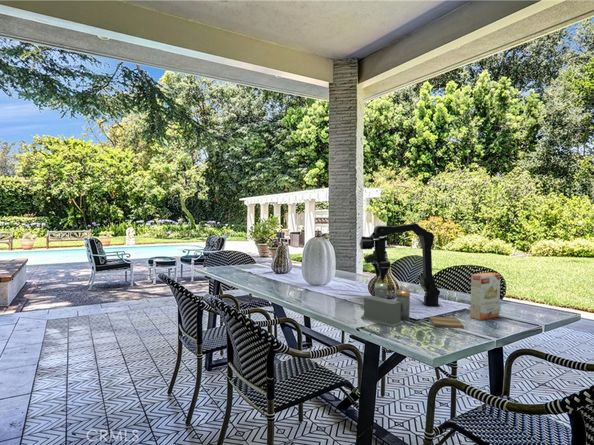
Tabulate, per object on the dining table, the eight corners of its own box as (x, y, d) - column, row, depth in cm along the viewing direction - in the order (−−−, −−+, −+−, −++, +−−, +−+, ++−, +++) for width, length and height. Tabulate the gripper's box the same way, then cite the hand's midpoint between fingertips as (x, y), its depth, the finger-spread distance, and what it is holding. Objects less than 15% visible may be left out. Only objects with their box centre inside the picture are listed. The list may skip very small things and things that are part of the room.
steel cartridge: (385, 307, 196) (385, 282, 196) (388, 310, 190) (388, 285, 190) (373, 307, 196) (373, 282, 196) (376, 310, 190) (376, 285, 189)
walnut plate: (429, 318, 175) (429, 316, 175) (456, 320, 173) (456, 317, 173) (434, 326, 163) (434, 324, 163) (463, 328, 161) (463, 325, 161)
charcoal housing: (371, 315, 181) (371, 295, 181) (403, 323, 168) (403, 302, 167) (361, 318, 176) (361, 297, 176) (393, 327, 162) (393, 305, 162)
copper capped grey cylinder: (407, 316, 179) (407, 289, 179) (411, 320, 173) (411, 292, 172) (394, 316, 179) (394, 289, 178) (398, 320, 173) (398, 292, 172)
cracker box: (480, 321, 172) (481, 276, 171) (469, 317, 177) (470, 274, 176) (500, 317, 178) (501, 273, 177) (488, 313, 183) (489, 271, 183)
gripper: (361, 247, 207) (361, 275, 208) (369, 251, 189) (369, 281, 189) (380, 247, 208) (380, 275, 208) (391, 251, 189) (390, 281, 190)
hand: (379, 278), depth 199 cm, fingers open, 9 cm apart
